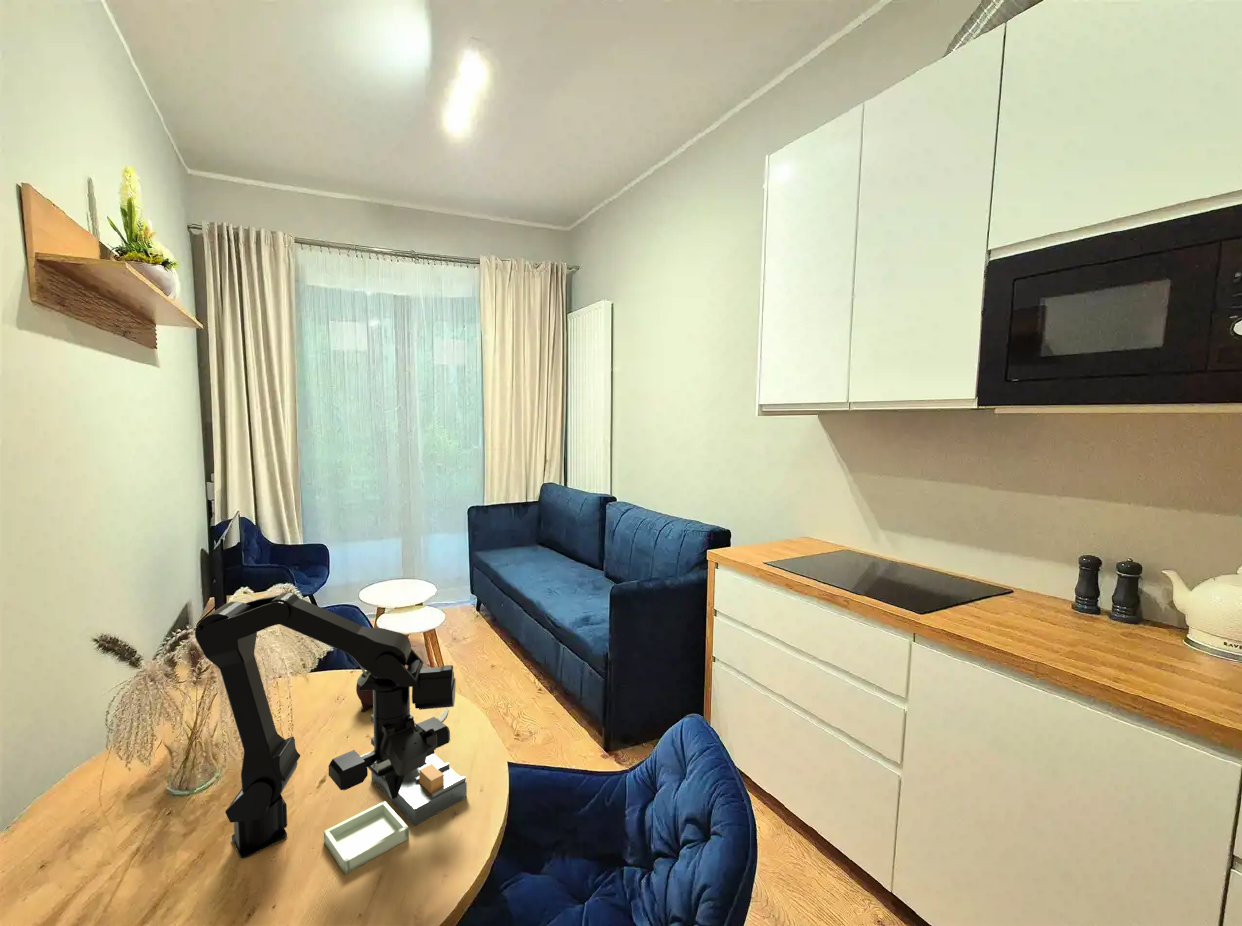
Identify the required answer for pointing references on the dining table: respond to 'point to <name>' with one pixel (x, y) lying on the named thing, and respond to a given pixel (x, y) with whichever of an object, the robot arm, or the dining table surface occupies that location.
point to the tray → (365, 836)
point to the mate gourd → (364, 692)
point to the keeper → (431, 778)
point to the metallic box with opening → (427, 792)
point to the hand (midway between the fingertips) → (393, 797)
